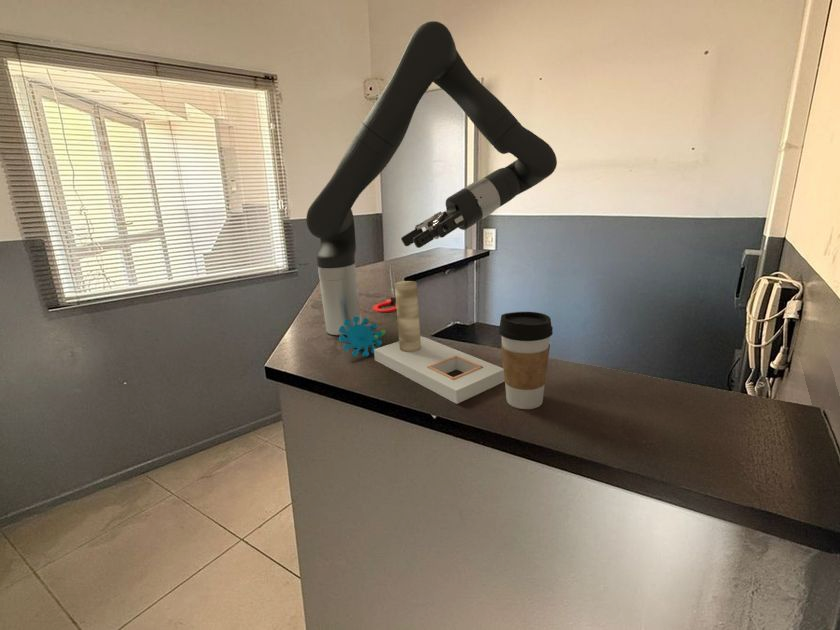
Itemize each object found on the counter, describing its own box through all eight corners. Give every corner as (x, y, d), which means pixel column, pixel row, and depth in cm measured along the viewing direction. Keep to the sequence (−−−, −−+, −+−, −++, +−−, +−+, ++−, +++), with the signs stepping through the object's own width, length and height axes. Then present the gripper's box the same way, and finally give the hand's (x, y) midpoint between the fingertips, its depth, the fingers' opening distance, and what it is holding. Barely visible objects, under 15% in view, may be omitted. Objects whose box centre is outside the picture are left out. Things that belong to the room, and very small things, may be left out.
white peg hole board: (374, 360, 94) (373, 348, 93) (419, 345, 100) (418, 334, 100) (456, 404, 74) (456, 389, 73) (504, 381, 81) (504, 368, 80)
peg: (395, 347, 93) (390, 284, 89) (412, 342, 95) (408, 279, 91) (408, 353, 89) (403, 287, 85) (425, 347, 92) (421, 283, 88)
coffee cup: (489, 396, 76) (488, 313, 71) (529, 384, 79) (531, 305, 74) (518, 418, 68) (519, 328, 64) (561, 405, 71) (565, 318, 67)
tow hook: (390, 315, 125) (408, 305, 132) (384, 272, 120) (403, 263, 128) (367, 312, 129) (386, 302, 136) (361, 270, 125) (381, 262, 132)
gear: (345, 356, 92) (335, 316, 96) (338, 368, 97) (329, 329, 101) (392, 351, 97) (381, 313, 102) (384, 363, 102) (373, 326, 106)
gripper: (452, 190, 97) (391, 227, 94) (480, 184, 84) (410, 226, 81) (467, 220, 99) (407, 257, 97) (496, 219, 86) (428, 261, 83)
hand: (408, 243), depth 89 cm, fingers open, 8 cm apart
